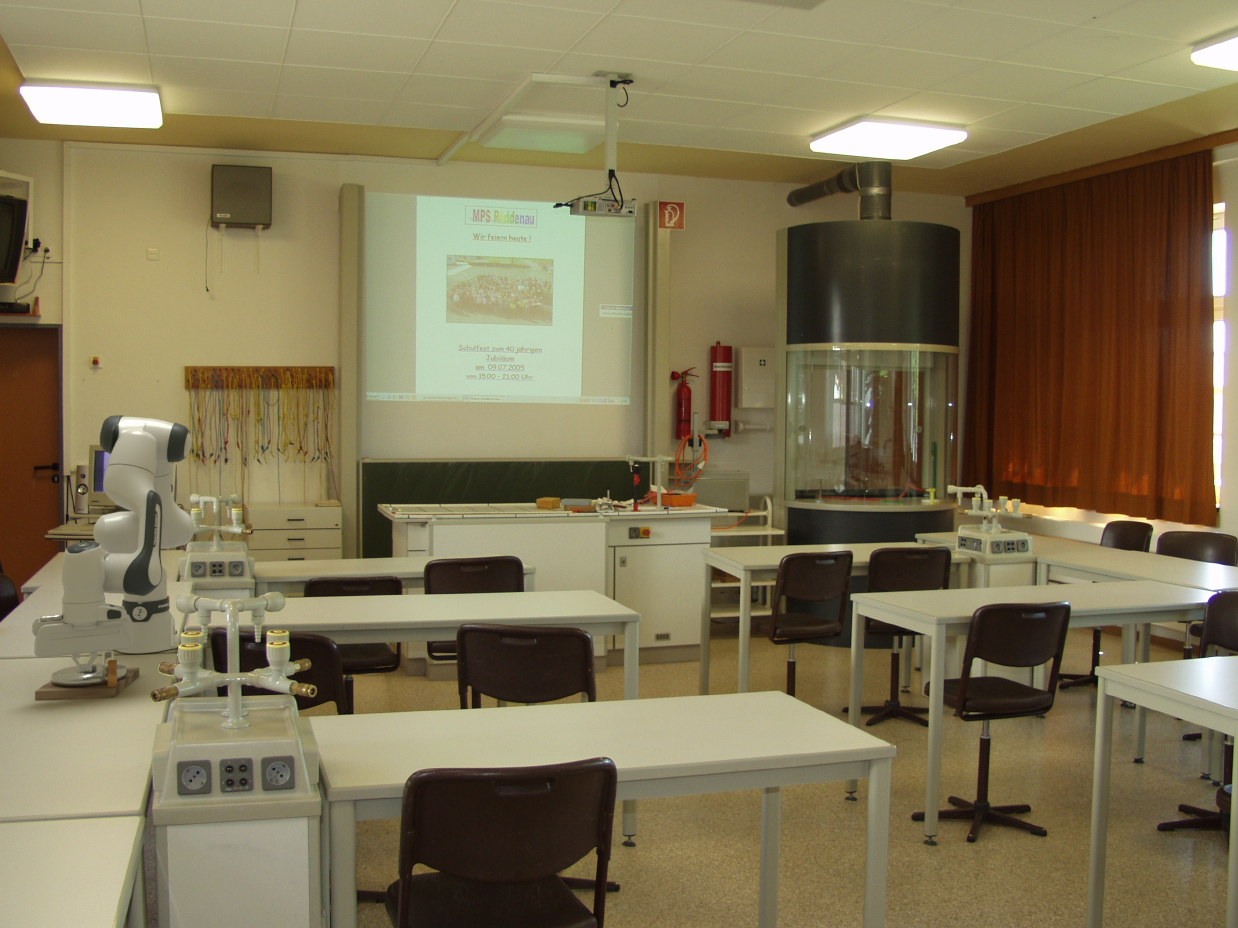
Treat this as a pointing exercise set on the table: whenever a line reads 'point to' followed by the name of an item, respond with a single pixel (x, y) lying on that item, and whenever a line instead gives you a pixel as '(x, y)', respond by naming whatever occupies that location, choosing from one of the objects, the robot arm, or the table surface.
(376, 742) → the table surface
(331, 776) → the table surface
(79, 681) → the dial
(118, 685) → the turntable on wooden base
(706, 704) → the table surface
